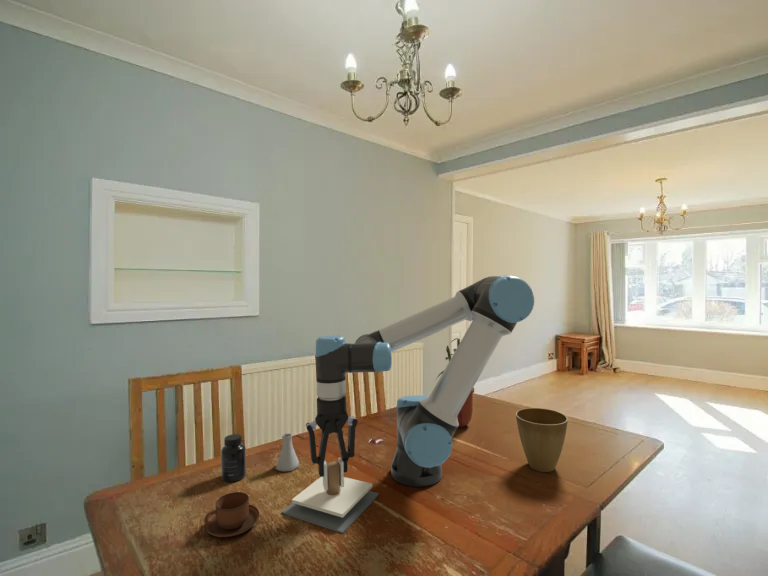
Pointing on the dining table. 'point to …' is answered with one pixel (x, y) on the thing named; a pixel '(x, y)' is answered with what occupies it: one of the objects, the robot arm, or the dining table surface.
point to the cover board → (334, 501)
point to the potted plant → (467, 407)
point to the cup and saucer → (231, 515)
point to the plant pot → (542, 436)
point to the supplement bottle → (233, 458)
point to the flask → (287, 455)
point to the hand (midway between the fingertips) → (333, 485)
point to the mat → (329, 519)
